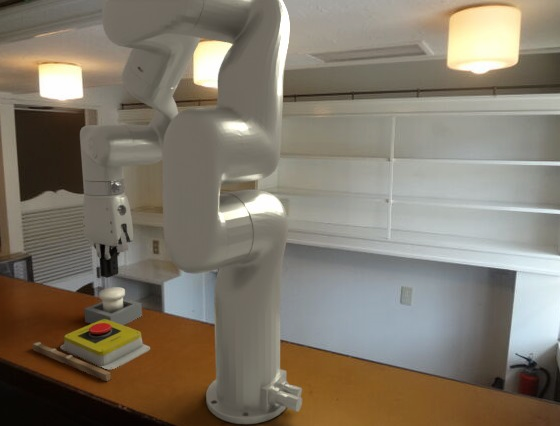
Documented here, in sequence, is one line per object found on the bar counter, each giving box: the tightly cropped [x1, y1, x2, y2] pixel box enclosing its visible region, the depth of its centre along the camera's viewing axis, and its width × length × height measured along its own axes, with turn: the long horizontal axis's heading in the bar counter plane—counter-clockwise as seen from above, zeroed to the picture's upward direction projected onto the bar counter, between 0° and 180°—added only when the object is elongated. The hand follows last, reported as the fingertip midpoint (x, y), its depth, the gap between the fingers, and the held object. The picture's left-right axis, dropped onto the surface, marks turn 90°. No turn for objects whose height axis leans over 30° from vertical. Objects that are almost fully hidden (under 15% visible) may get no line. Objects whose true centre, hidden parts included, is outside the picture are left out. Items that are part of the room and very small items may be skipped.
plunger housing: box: [84, 297, 143, 326], centre depth 93 cm, size 8×8×3 cm
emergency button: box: [60, 319, 151, 371], centre depth 81 cm, size 9×4×15 cm
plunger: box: [98, 286, 126, 313], centre depth 93 cm, size 5×5×4 cm
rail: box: [32, 341, 112, 382], centre depth 76 cm, size 20×1×1 cm, turn 60°
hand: (109, 275), depth 92 cm, fingers closed
